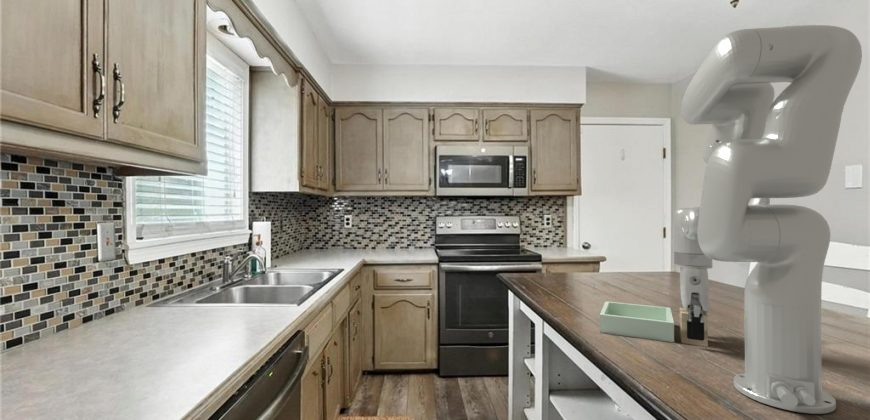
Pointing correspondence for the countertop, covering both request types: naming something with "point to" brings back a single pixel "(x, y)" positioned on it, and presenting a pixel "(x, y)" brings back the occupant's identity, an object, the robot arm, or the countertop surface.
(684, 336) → the beech block
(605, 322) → the bin
